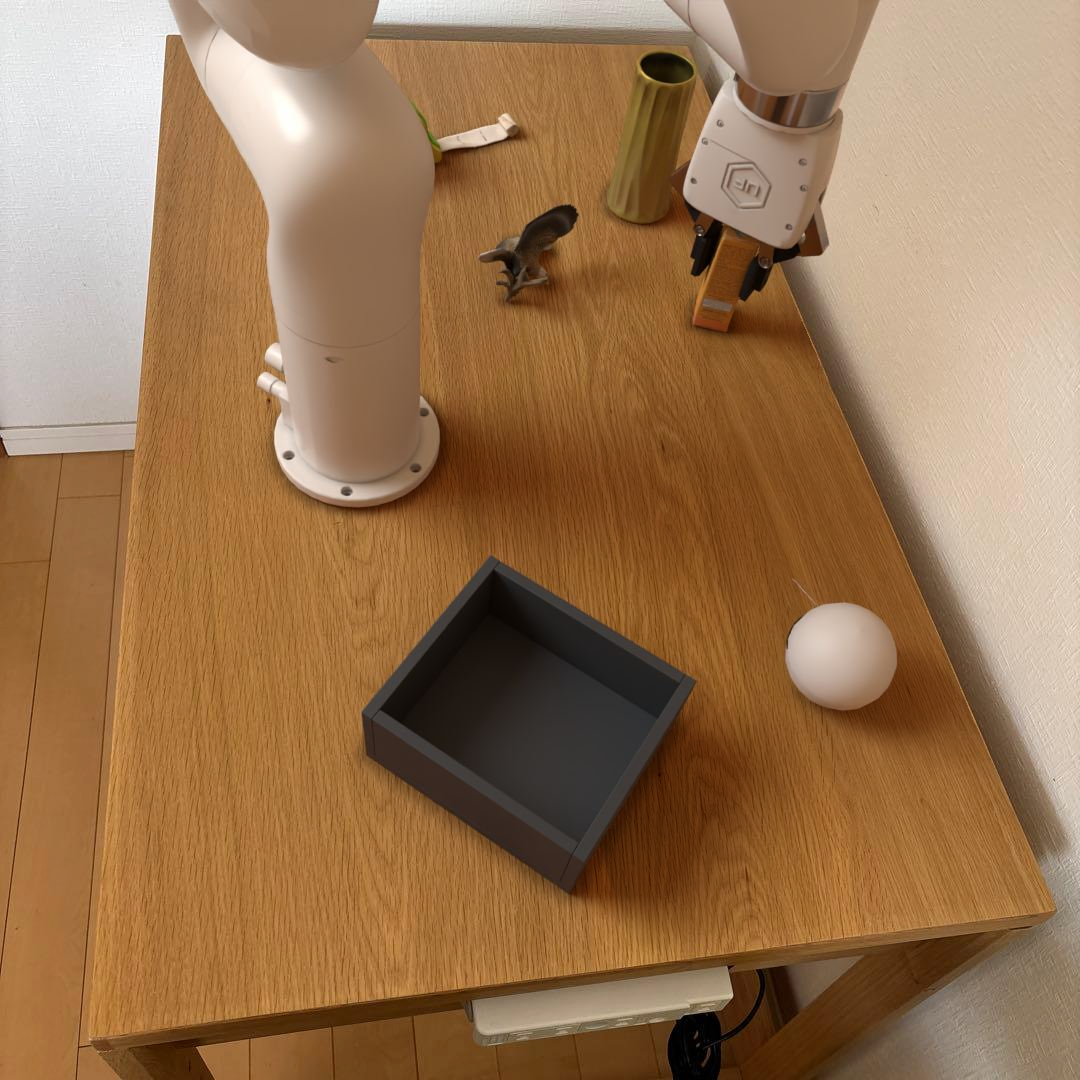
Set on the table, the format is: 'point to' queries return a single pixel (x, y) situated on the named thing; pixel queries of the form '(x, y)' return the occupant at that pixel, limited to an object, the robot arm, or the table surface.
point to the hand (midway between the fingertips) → (725, 277)
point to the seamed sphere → (840, 655)
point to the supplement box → (724, 279)
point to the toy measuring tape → (471, 135)
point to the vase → (652, 136)
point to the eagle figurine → (531, 249)
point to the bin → (525, 719)
